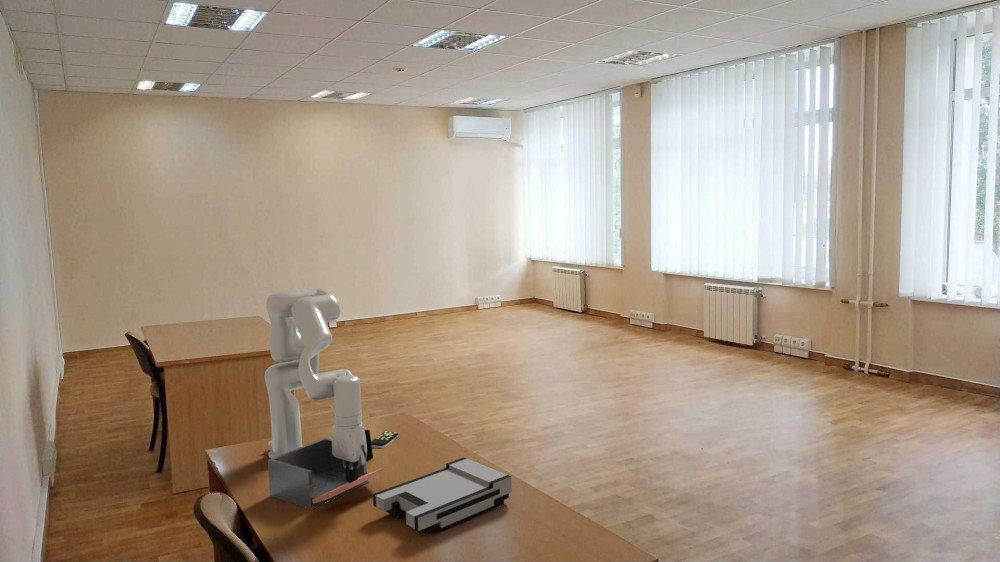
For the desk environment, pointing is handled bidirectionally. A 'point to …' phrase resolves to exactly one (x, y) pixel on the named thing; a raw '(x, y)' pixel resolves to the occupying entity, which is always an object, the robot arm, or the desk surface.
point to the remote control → (384, 439)
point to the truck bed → (308, 474)
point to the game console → (446, 496)
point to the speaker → (368, 444)
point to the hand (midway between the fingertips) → (351, 480)
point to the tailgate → (348, 485)
